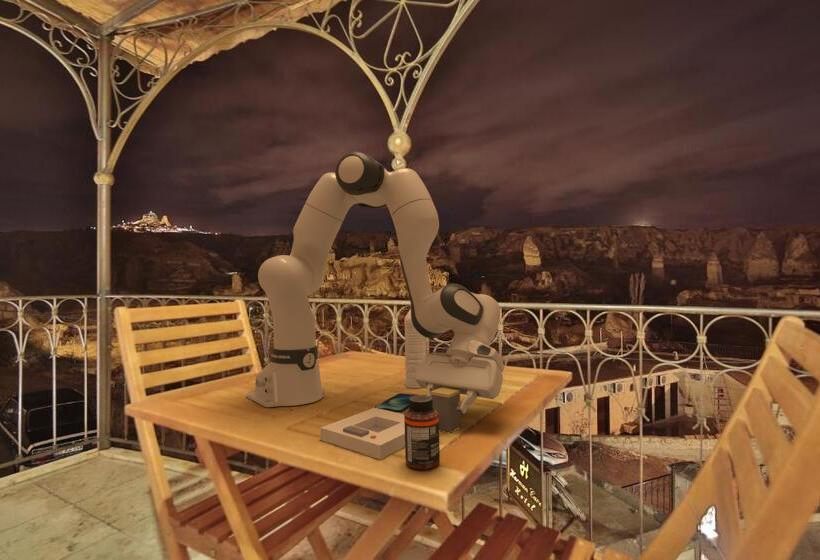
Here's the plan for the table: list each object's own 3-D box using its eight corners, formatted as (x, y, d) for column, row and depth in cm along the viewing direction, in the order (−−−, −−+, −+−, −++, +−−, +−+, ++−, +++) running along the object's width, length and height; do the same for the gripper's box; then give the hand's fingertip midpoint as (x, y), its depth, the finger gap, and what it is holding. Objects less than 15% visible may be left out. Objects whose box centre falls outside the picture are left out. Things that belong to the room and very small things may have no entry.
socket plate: (320, 440, 83) (320, 424, 83) (374, 418, 95) (374, 405, 95) (380, 459, 73) (380, 442, 73) (431, 432, 86) (431, 417, 86)
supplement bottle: (412, 454, 75) (411, 391, 75) (444, 459, 73) (442, 394, 73) (399, 468, 69) (398, 400, 69) (433, 473, 67) (432, 403, 67)
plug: (431, 429, 88) (430, 391, 88) (443, 423, 91) (442, 386, 91) (449, 433, 85) (448, 394, 85) (461, 427, 89) (460, 389, 89)
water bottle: (402, 388, 123) (401, 303, 123) (408, 383, 129) (407, 302, 129) (431, 389, 120) (429, 303, 121) (436, 384, 127) (434, 302, 127)
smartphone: (424, 395, 113) (400, 410, 99) (424, 398, 113) (400, 414, 99) (399, 393, 116) (373, 407, 102) (399, 396, 116) (373, 411, 102)
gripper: (424, 343, 100) (399, 392, 92) (502, 350, 88) (481, 408, 80) (434, 358, 104) (411, 407, 96) (511, 367, 91) (492, 424, 83)
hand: (444, 408), depth 88 cm, fingers open, 6 cm apart
